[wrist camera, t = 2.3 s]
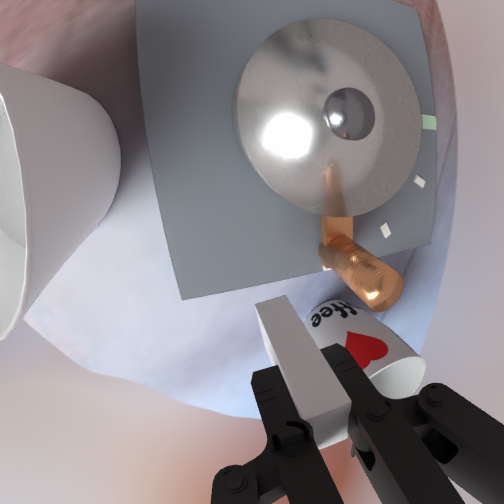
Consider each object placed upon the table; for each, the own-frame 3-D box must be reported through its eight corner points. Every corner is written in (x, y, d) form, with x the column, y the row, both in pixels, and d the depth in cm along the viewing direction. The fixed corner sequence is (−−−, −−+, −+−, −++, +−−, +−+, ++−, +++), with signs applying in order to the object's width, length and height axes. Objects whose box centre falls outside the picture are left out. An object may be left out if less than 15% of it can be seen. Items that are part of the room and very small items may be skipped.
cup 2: (374, 284, 25) (441, 346, 16) (350, 349, 28) (397, 416, 19) (297, 286, 23) (356, 369, 14) (280, 358, 26) (317, 441, 17)
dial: (220, 30, 12) (240, -23, 6) (388, 44, 14) (452, 27, 8) (252, 280, 19) (280, 342, 13) (396, 247, 21) (451, 284, 15)
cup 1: (-18, 209, 14) (-112, 272, 4) (28, 71, 12) (-80, 44, 1) (88, 269, 19) (25, 388, 8) (152, 122, 16) (91, 96, 5)
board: (139, 0, 12) (134, -14, 10) (402, 14, 15) (417, 8, 13) (182, 286, 21) (182, 301, 19) (417, 236, 24) (431, 244, 22)
